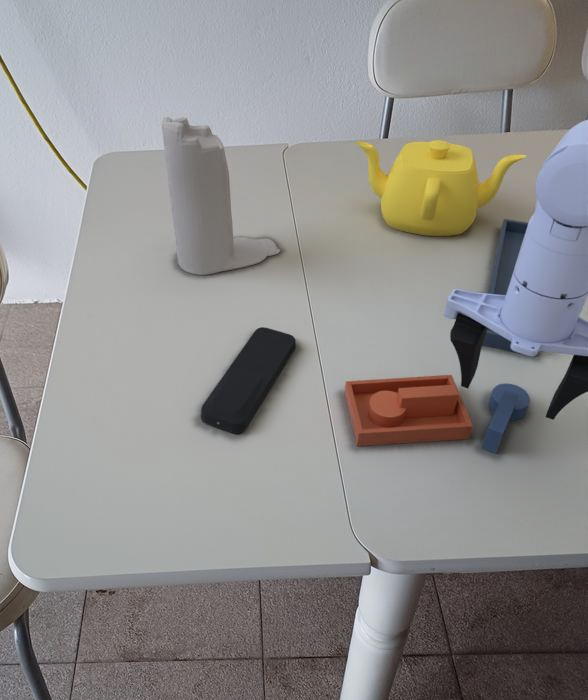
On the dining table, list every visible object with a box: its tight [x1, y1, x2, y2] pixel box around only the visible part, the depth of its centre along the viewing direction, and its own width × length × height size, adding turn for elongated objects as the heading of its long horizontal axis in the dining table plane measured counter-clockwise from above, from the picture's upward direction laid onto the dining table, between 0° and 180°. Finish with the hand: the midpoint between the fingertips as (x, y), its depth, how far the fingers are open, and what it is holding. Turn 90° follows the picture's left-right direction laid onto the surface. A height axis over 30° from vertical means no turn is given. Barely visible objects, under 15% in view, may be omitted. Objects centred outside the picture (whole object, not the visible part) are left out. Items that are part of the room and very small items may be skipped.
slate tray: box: [482, 218, 529, 354], centre depth 79 cm, size 25×6×2 cm, turn 158°
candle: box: [161, 116, 281, 276], centre depth 81 cm, size 7×14×20 cm, turn 106°
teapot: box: [355, 139, 527, 237], centre depth 88 cm, size 22×16×11 cm
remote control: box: [200, 326, 297, 434], centre depth 69 cm, size 5×2×15 cm
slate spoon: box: [480, 382, 531, 454], centre depth 63 cm, size 8×4×3 cm, turn 148°
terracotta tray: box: [344, 374, 474, 447], centre depth 65 cm, size 11×7×2 cm, turn 93°
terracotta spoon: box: [368, 385, 460, 428], centre depth 64 cm, size 8×4×3 cm, turn 93°
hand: (508, 395), depth 60 cm, fingers open, 7 cm apart
